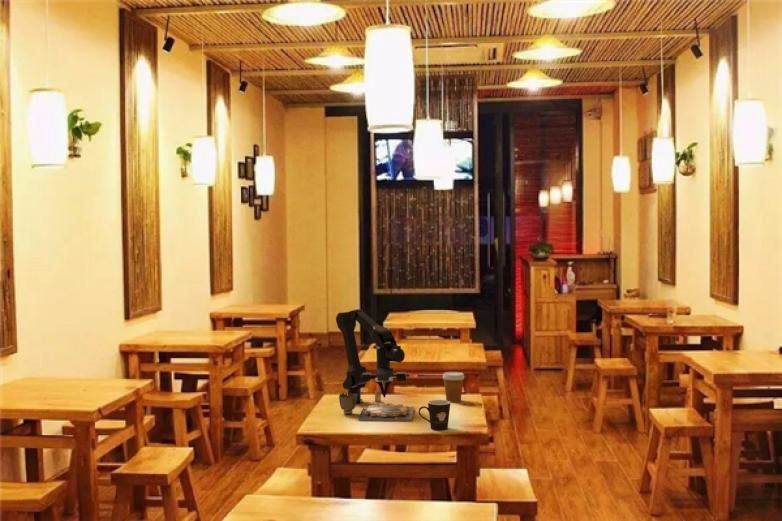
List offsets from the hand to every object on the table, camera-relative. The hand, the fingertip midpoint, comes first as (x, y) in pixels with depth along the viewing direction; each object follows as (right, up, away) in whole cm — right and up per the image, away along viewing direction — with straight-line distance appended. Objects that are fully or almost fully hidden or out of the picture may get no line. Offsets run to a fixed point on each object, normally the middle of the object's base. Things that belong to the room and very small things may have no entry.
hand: (384, 397), depth 354 cm
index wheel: (+1, -5, -9) cm, 10 cm away
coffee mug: (+20, -7, -32) cm, 38 cm away
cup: (-15, -6, -7) cm, 17 cm away
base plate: (+1, -6, -9) cm, 11 cm away
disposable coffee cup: (+30, -4, +16) cm, 34 cm away
